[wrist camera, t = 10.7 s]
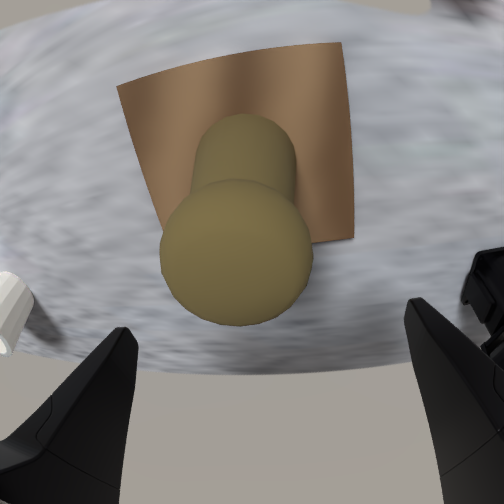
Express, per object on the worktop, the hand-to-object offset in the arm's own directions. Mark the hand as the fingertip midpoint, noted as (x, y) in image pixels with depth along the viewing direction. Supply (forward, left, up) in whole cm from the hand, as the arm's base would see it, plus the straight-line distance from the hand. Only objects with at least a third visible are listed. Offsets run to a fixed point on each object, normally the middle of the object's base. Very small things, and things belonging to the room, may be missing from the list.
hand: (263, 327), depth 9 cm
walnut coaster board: (+1, -1, -13) cm, 13 cm away
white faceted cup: (+29, +7, -13) cm, 33 cm away
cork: (+1, -1, -12) cm, 12 cm away
